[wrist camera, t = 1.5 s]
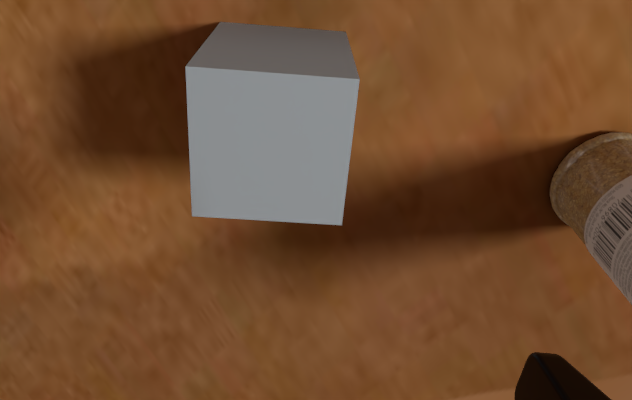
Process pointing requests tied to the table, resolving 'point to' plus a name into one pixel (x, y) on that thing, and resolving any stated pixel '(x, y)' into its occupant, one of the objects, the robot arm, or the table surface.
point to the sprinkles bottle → (600, 202)
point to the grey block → (271, 123)
